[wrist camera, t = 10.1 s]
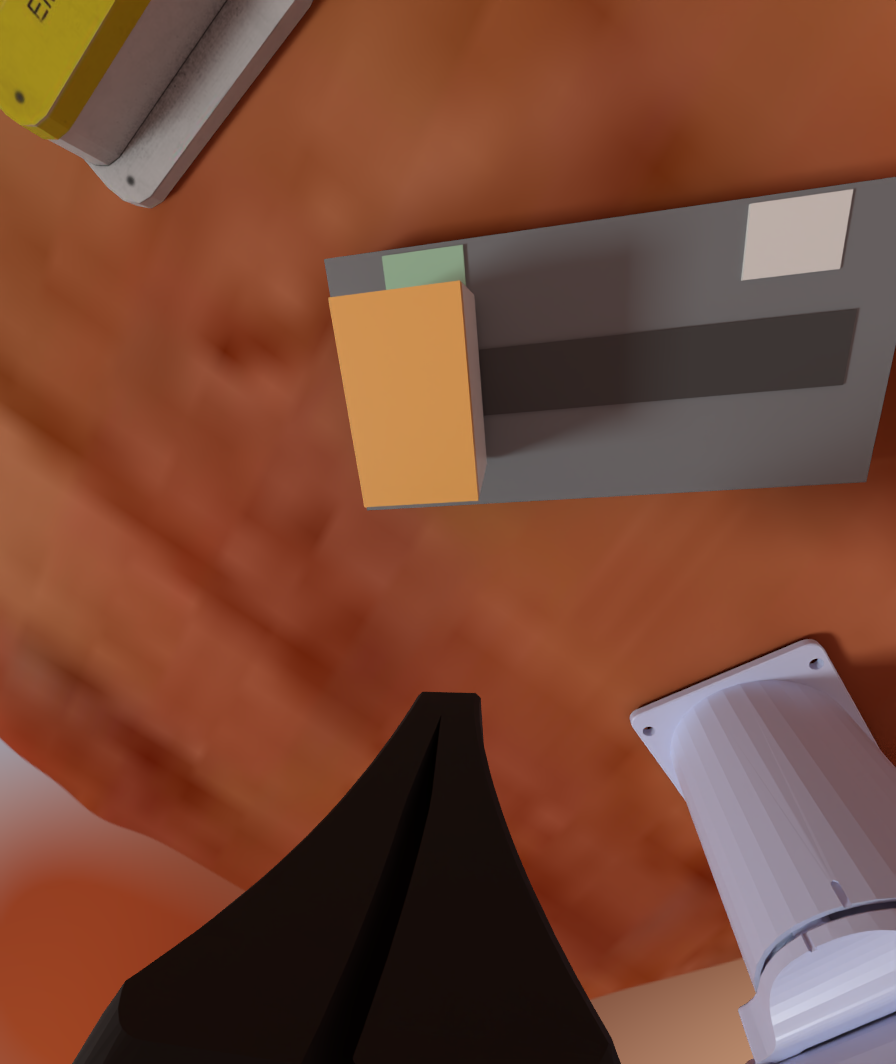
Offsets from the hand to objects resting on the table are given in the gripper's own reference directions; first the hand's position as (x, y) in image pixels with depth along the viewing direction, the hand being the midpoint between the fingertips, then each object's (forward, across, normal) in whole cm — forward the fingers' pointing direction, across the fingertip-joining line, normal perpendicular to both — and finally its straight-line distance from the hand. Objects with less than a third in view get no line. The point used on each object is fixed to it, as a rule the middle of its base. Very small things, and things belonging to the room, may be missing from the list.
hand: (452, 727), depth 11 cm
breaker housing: (+9, -4, -7) cm, 12 cm away
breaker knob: (+7, +1, -7) cm, 10 cm away
